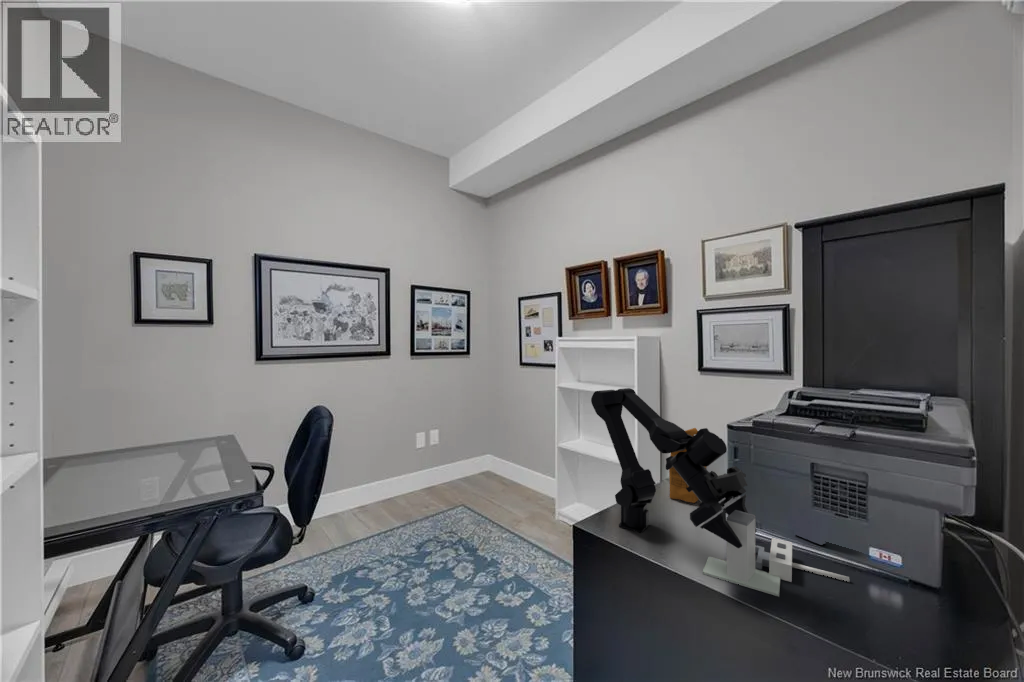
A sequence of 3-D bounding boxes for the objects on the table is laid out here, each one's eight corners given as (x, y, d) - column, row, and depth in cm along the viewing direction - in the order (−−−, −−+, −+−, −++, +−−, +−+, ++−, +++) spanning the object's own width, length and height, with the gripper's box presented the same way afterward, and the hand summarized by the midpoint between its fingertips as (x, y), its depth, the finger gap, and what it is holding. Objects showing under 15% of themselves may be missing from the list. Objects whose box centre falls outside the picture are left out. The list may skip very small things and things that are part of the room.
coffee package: (712, 496, 133) (712, 429, 133) (695, 507, 125) (695, 435, 125) (682, 488, 141) (682, 424, 141) (664, 498, 132) (664, 430, 132)
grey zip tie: (725, 563, 94) (725, 547, 94) (732, 542, 104) (732, 527, 104) (852, 599, 81) (852, 580, 81) (846, 570, 91) (846, 554, 91)
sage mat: (702, 573, 90) (702, 571, 90) (708, 558, 96) (708, 556, 96) (779, 596, 82) (779, 594, 82) (780, 578, 88) (780, 576, 88)
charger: (726, 575, 88) (726, 517, 88) (735, 565, 92) (735, 509, 92) (747, 582, 85) (747, 523, 85) (755, 572, 89) (755, 515, 89)
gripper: (704, 465, 85) (764, 537, 77) (736, 448, 98) (791, 508, 90) (668, 492, 91) (720, 562, 83) (702, 473, 104) (751, 532, 96)
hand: (748, 539), depth 88 cm, fingers open, 9 cm apart
